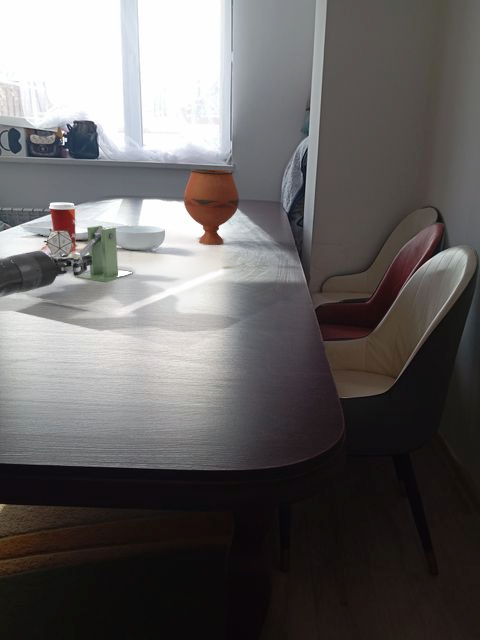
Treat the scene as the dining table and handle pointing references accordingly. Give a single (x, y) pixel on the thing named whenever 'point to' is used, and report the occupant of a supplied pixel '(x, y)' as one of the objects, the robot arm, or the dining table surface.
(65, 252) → the game die
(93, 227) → the bracket
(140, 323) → the dining table surface
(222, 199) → the goblet
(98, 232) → the lever
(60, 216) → the paper cup
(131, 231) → the cereal bowl
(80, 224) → the square plate
